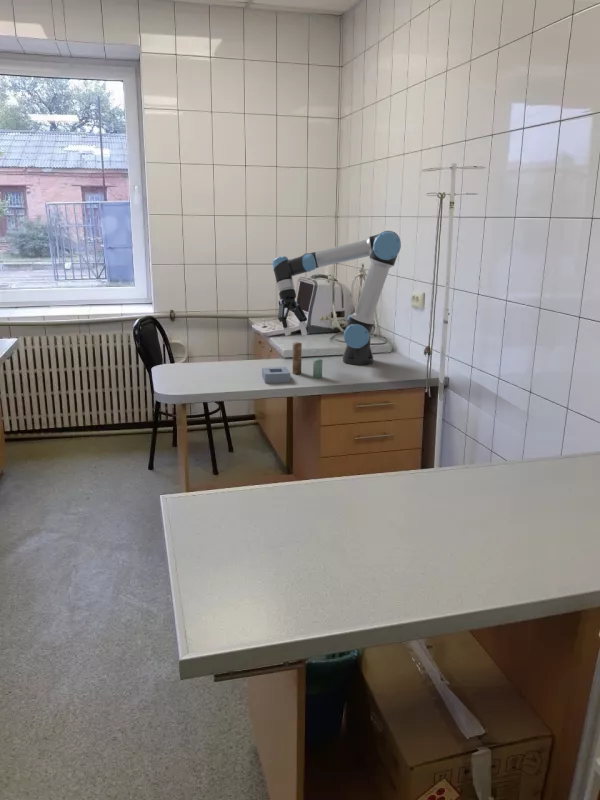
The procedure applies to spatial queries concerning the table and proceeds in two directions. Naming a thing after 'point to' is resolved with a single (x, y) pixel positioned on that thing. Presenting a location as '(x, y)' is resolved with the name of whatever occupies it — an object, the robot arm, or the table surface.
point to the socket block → (276, 375)
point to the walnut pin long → (297, 358)
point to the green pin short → (317, 368)
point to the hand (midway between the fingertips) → (296, 335)
